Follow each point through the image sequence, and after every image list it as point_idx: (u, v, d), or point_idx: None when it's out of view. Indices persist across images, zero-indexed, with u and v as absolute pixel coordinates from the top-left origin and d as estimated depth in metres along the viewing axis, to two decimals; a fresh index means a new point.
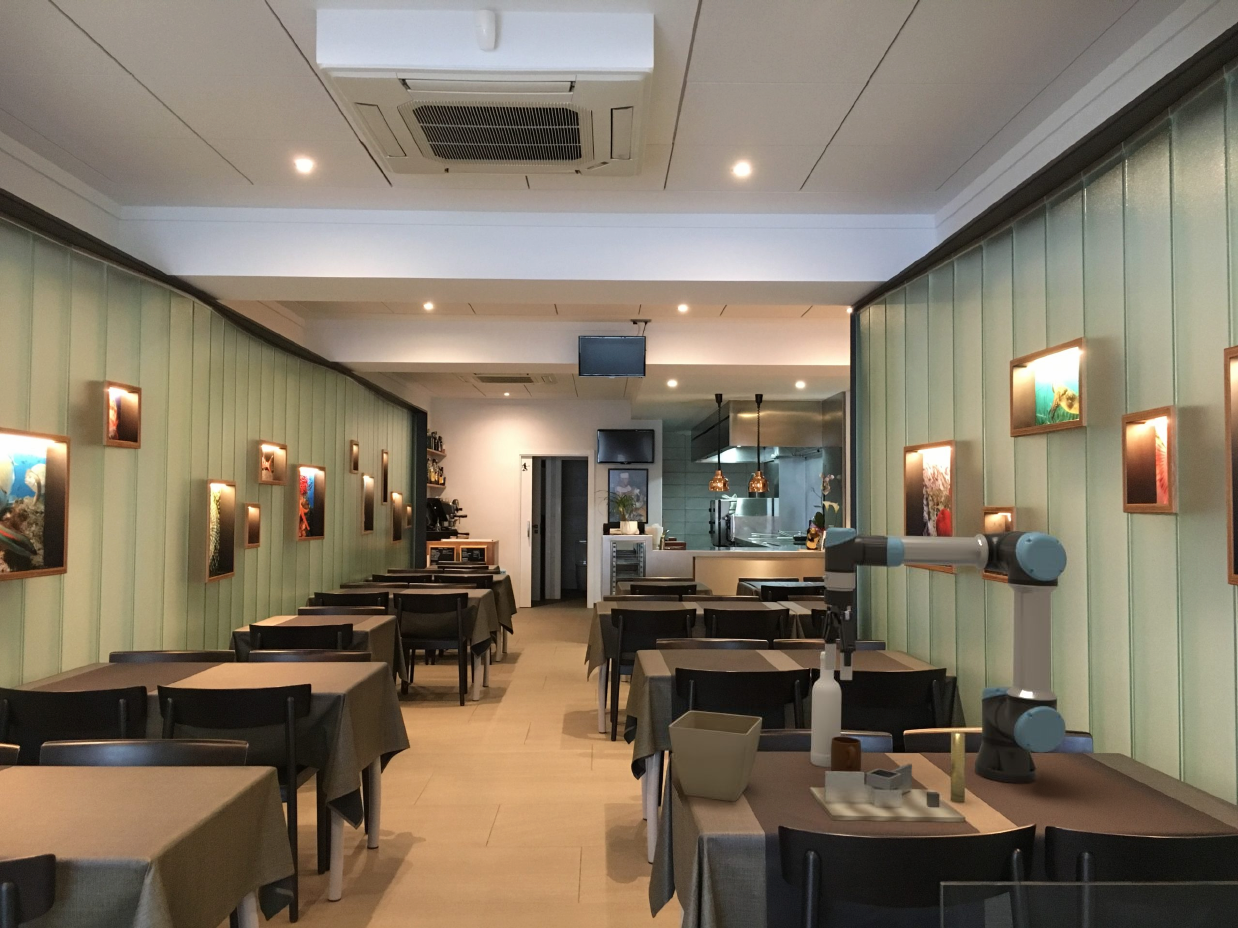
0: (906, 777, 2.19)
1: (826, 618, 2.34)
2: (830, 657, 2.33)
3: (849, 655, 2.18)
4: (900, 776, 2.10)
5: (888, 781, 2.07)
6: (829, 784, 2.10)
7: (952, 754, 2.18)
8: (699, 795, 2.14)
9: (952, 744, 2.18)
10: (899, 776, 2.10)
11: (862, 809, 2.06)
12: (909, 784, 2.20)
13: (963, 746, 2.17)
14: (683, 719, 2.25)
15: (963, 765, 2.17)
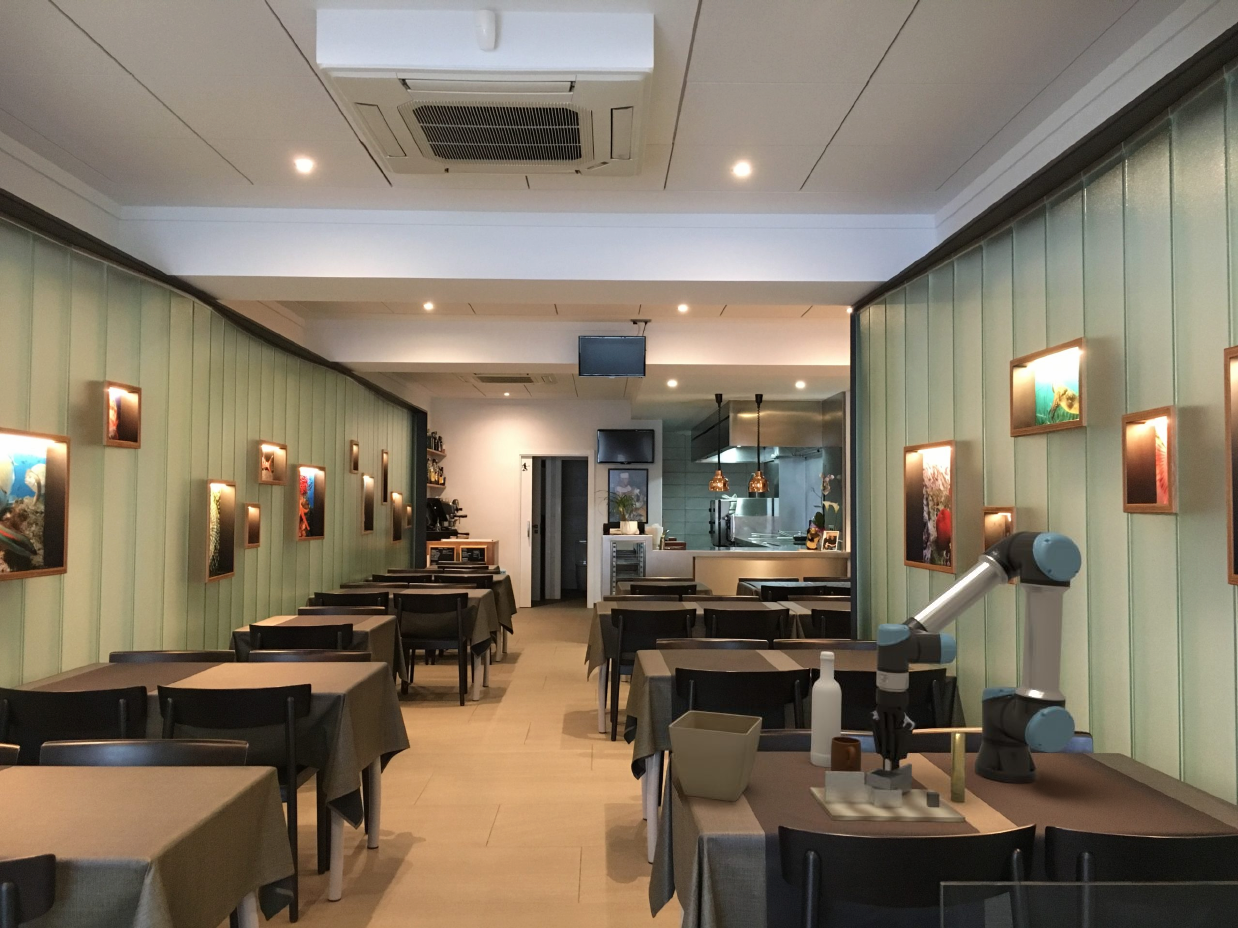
0: (906, 777, 2.19)
1: (874, 726, 2.23)
2: None
3: (898, 762, 2.19)
4: (900, 776, 2.10)
5: (888, 781, 2.07)
6: (829, 784, 2.10)
7: (952, 754, 2.18)
8: (699, 795, 2.14)
9: (952, 744, 2.18)
10: (899, 776, 2.10)
11: (862, 809, 2.06)
12: (909, 784, 2.20)
13: (963, 746, 2.17)
14: (683, 719, 2.25)
15: (963, 765, 2.17)
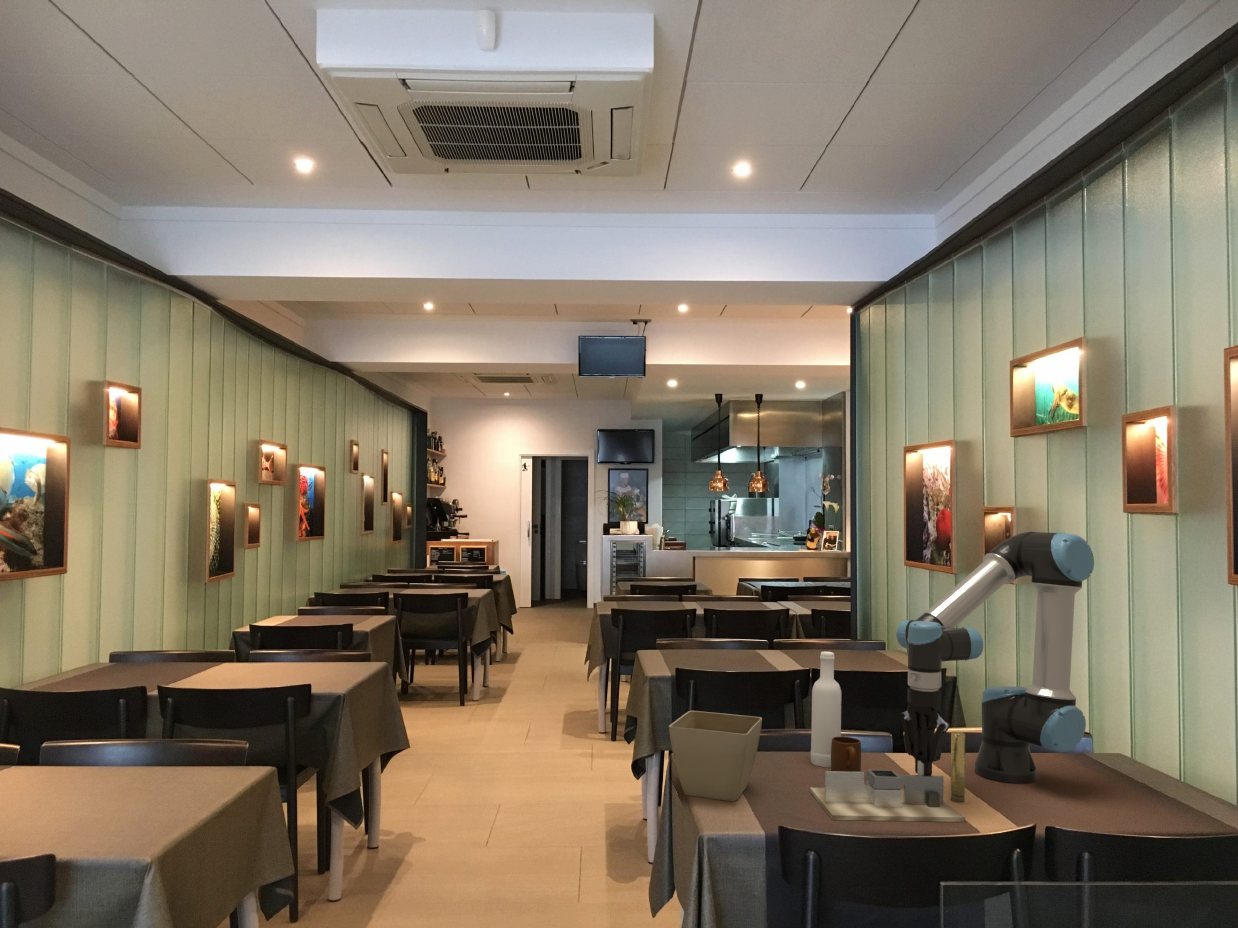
0: (931, 788, 2.11)
1: (905, 727, 2.16)
2: None
3: (930, 764, 2.12)
4: (896, 779, 2.08)
5: (874, 779, 2.08)
6: (829, 784, 2.10)
7: (952, 754, 2.18)
8: (699, 795, 2.14)
9: (952, 744, 2.18)
10: (894, 778, 2.08)
11: (862, 809, 2.06)
12: None
13: (963, 746, 2.17)
14: (683, 719, 2.25)
15: (963, 765, 2.17)
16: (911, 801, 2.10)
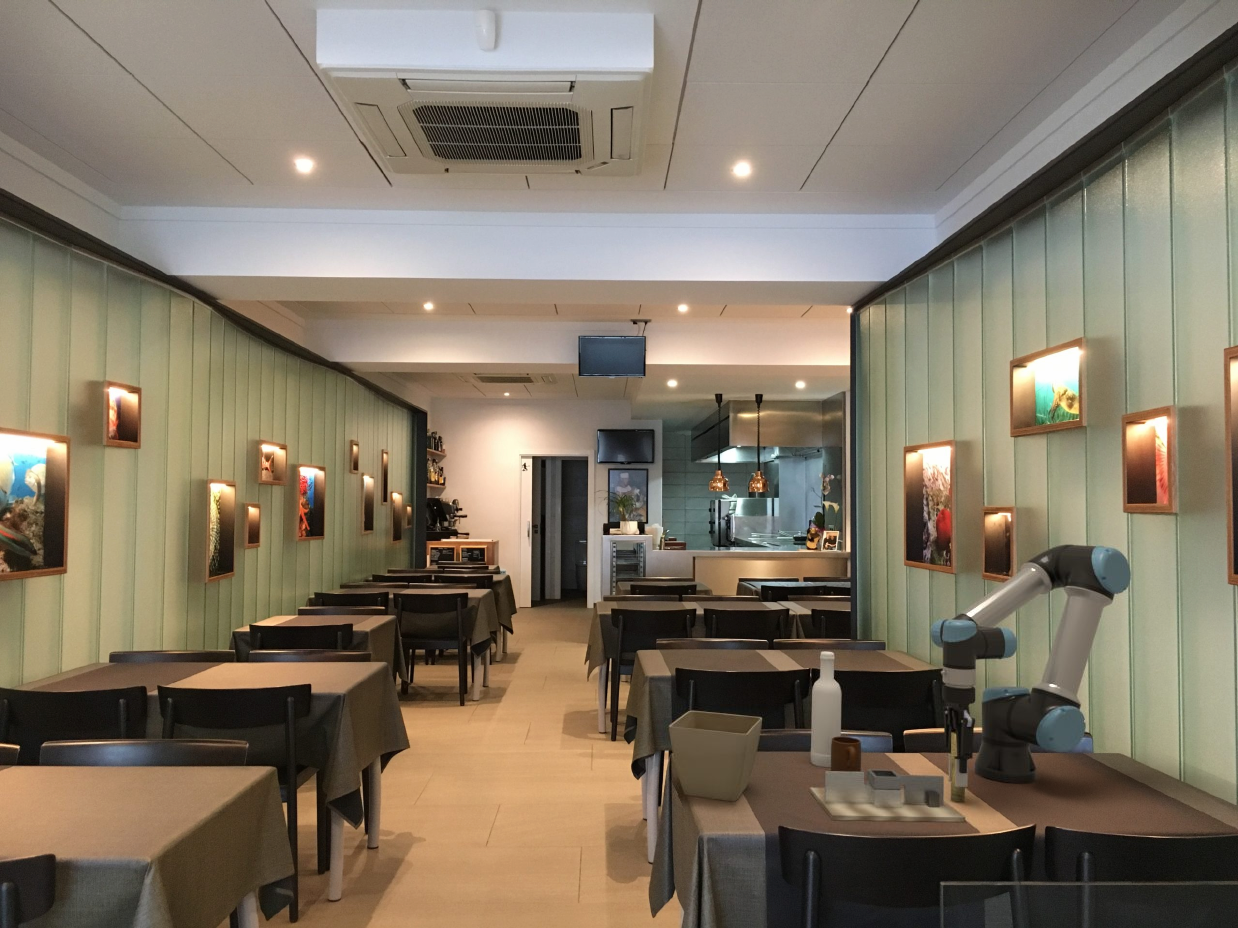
0: (931, 788, 2.11)
1: (945, 720, 2.23)
2: None
3: (965, 762, 2.15)
4: (896, 779, 2.08)
5: (874, 779, 2.08)
6: (829, 784, 2.10)
7: (952, 754, 2.18)
8: (699, 795, 2.14)
9: (952, 744, 2.18)
10: (894, 778, 2.08)
11: (862, 809, 2.06)
12: None
13: None
14: (683, 719, 2.25)
15: None
16: (911, 801, 2.10)
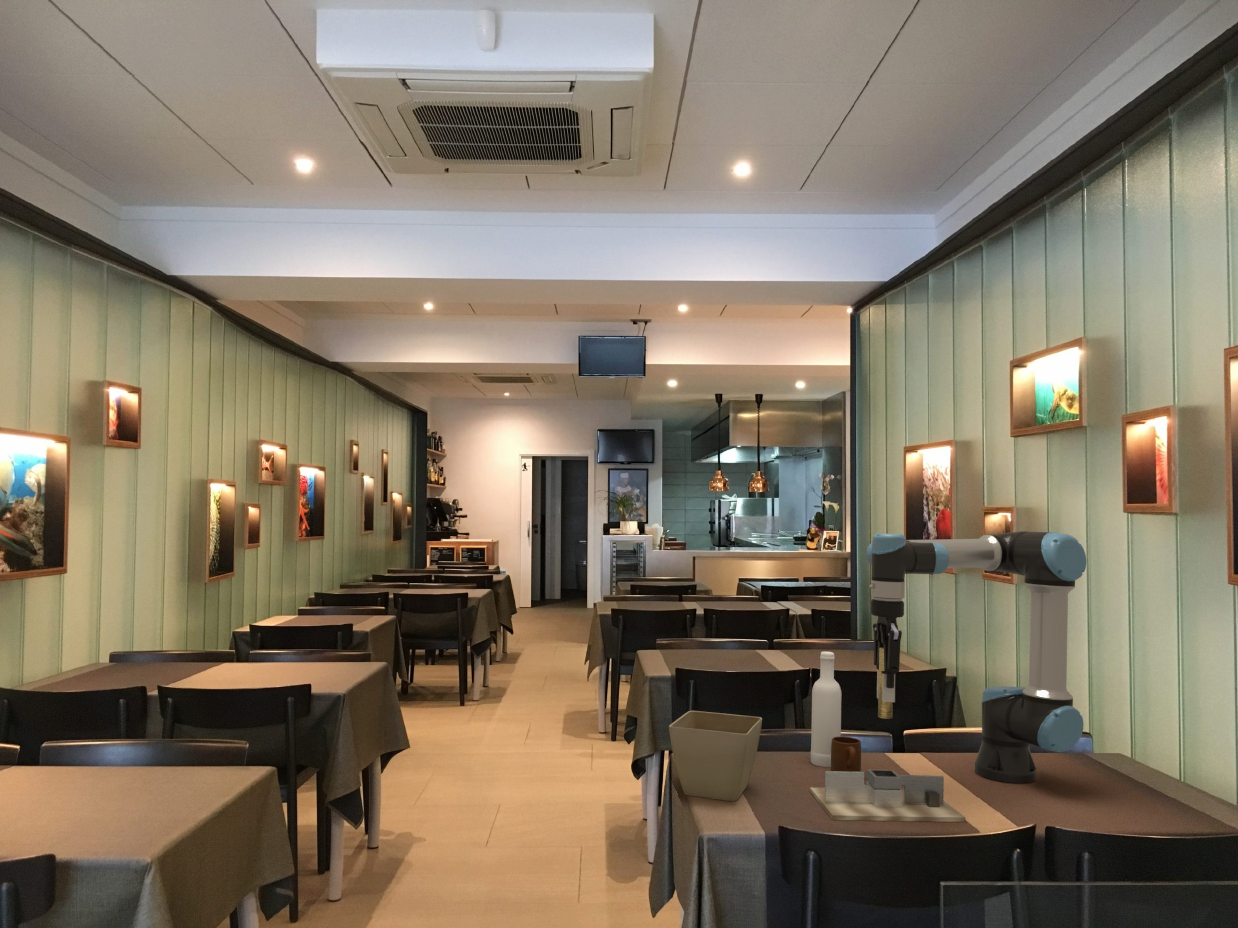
0: (931, 788, 2.11)
1: (874, 637, 2.18)
2: None
3: (892, 676, 2.09)
4: (896, 779, 2.08)
5: (874, 779, 2.08)
6: (829, 784, 2.10)
7: (880, 669, 2.12)
8: (699, 795, 2.14)
9: (880, 659, 2.12)
10: (894, 778, 2.08)
11: (862, 809, 2.06)
12: None
13: None
14: (683, 719, 2.25)
15: None
16: (911, 801, 2.10)
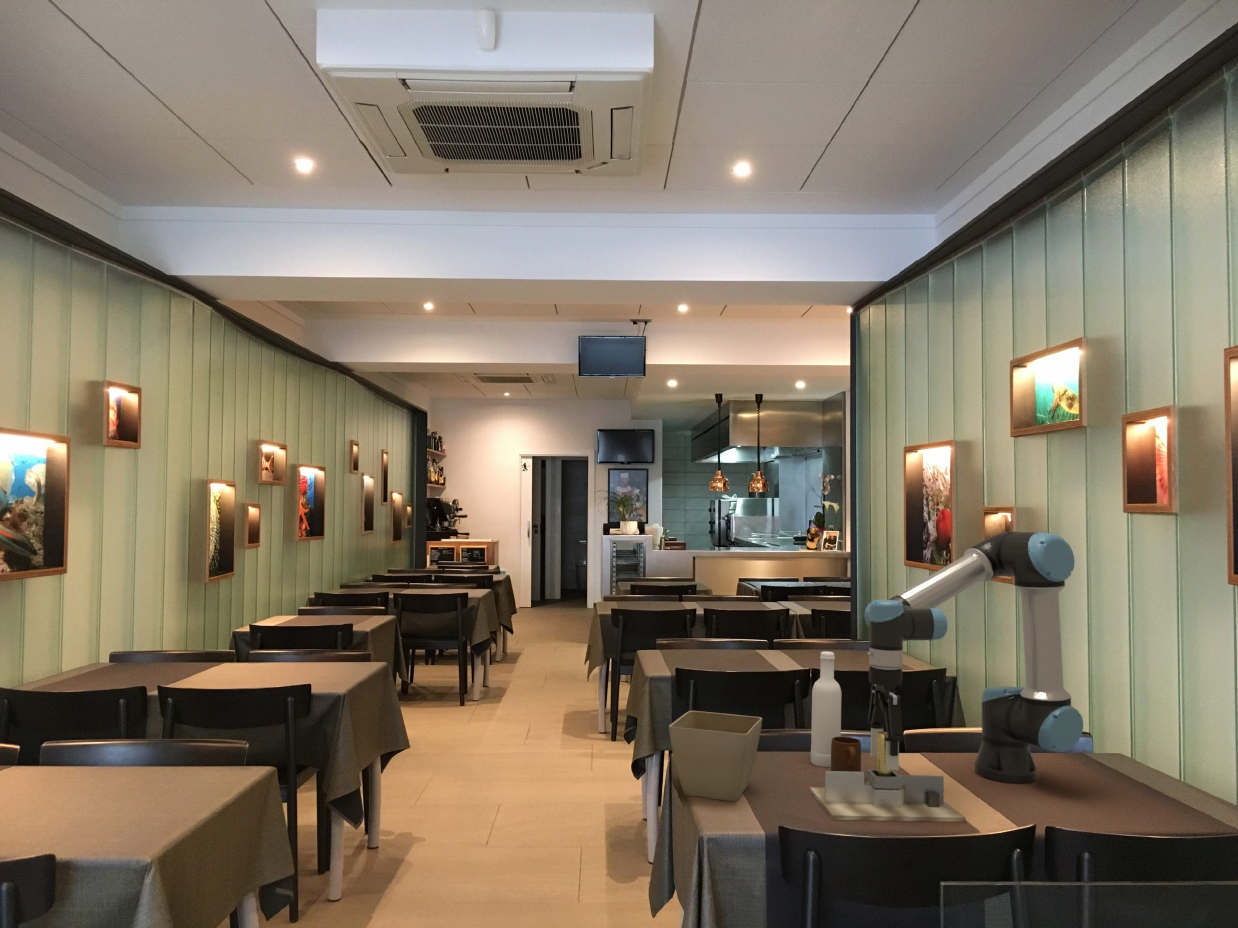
0: (931, 788, 2.11)
1: (871, 698, 2.18)
2: (876, 743, 2.16)
3: (895, 744, 2.05)
4: (896, 779, 2.08)
5: (874, 779, 2.08)
6: (829, 784, 2.10)
7: (878, 755, 2.11)
8: (699, 795, 2.14)
9: (878, 744, 2.11)
10: (894, 778, 2.08)
11: (862, 809, 2.06)
12: None
13: None
14: (683, 719, 2.25)
15: None
16: (911, 801, 2.10)
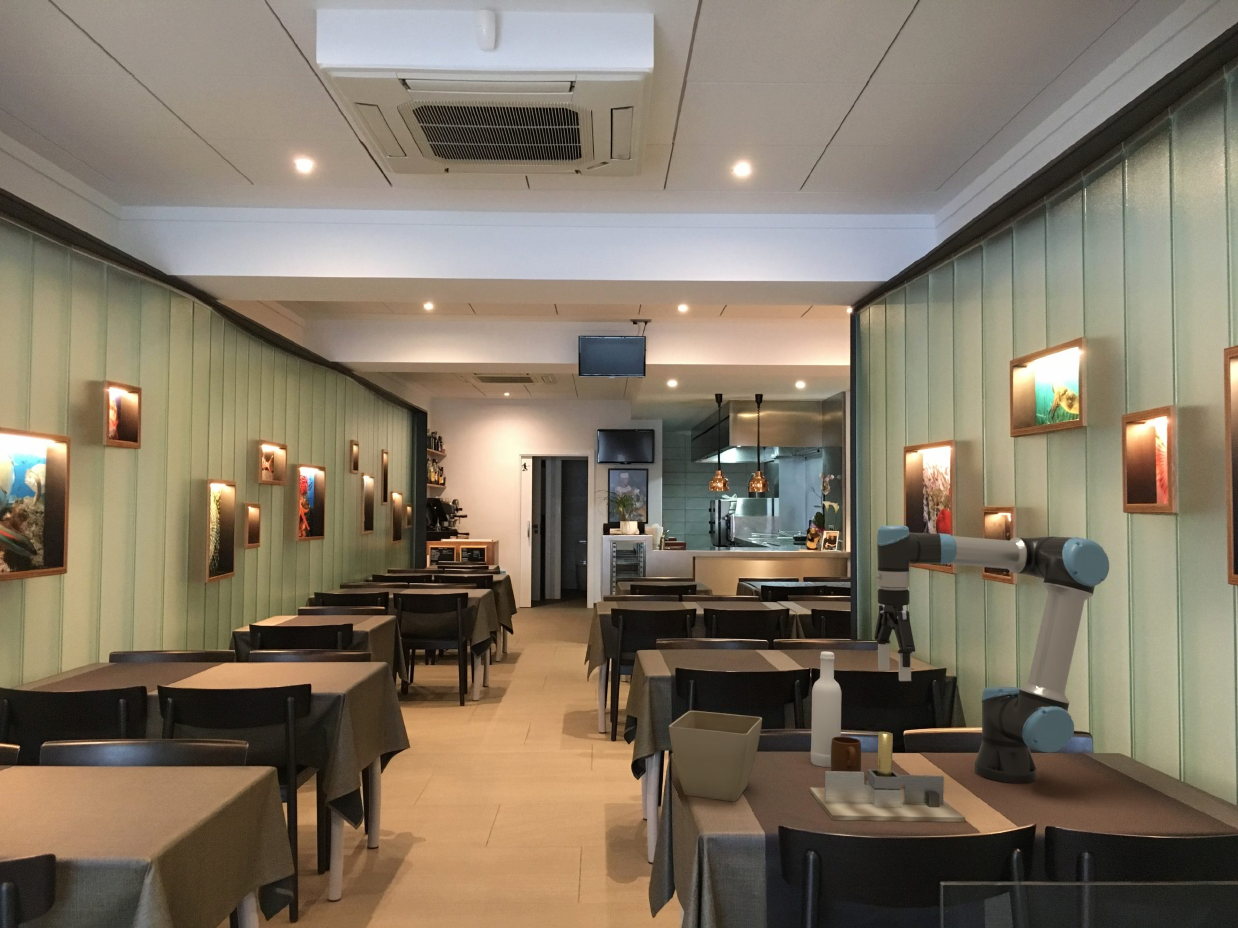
0: (931, 788, 2.11)
1: (878, 618, 2.29)
2: (883, 657, 2.29)
3: (908, 656, 2.14)
4: (896, 779, 2.08)
5: (874, 779, 2.08)
6: (829, 784, 2.10)
7: (879, 755, 2.11)
8: (699, 795, 2.14)
9: (879, 745, 2.11)
10: (894, 778, 2.08)
11: (862, 809, 2.06)
12: None
13: (890, 747, 2.10)
14: (683, 719, 2.25)
15: (889, 766, 2.10)
16: (911, 801, 2.10)
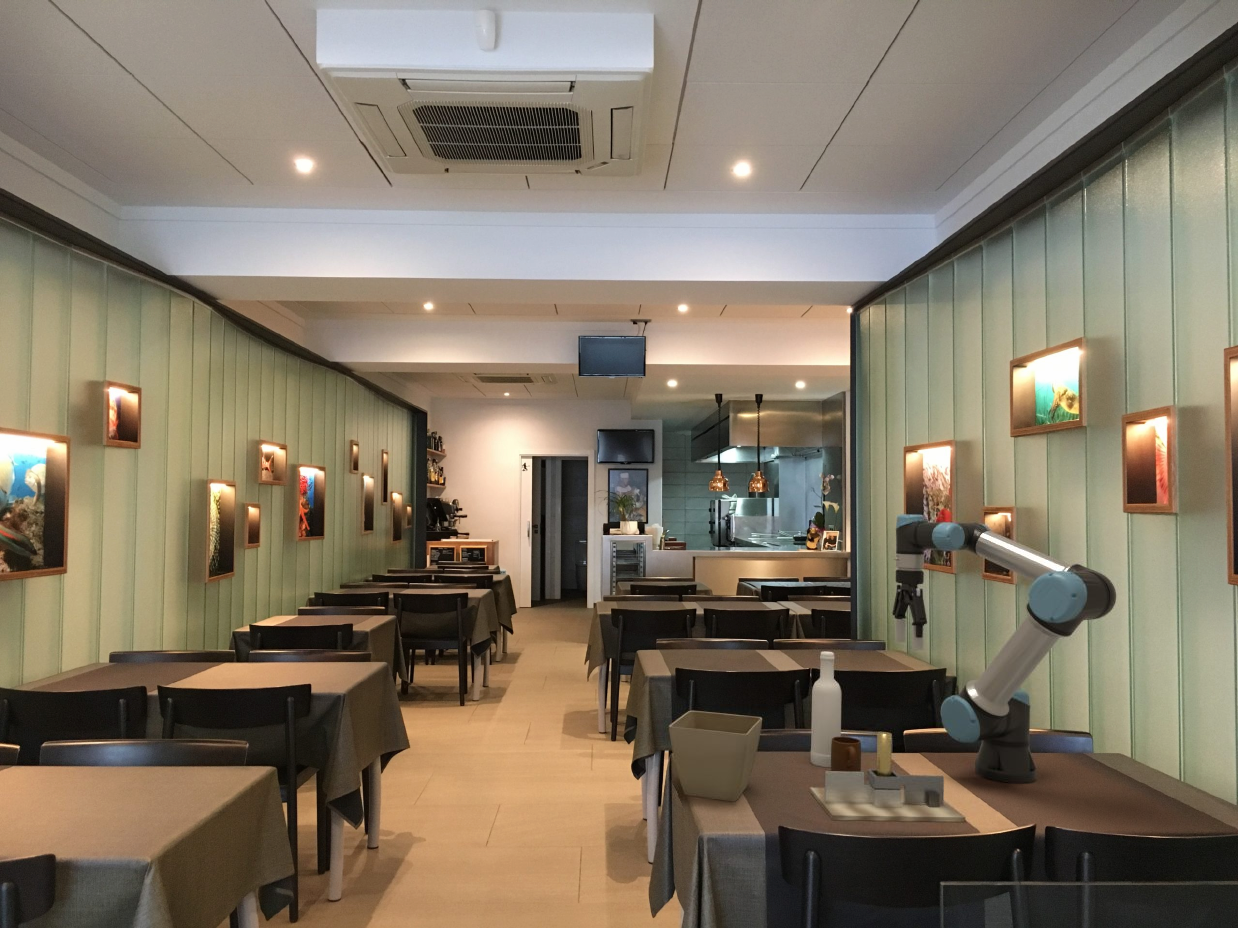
0: (931, 788, 2.11)
1: (896, 596, 2.60)
2: (900, 630, 2.59)
3: (920, 627, 2.45)
4: (896, 779, 2.08)
5: (874, 779, 2.08)
6: (829, 784, 2.10)
7: (878, 755, 2.11)
8: (699, 795, 2.14)
9: (878, 745, 2.11)
10: (894, 778, 2.08)
11: (862, 809, 2.06)
12: None
13: (889, 747, 2.10)
14: (683, 719, 2.25)
15: (889, 767, 2.10)
16: (911, 801, 2.10)
